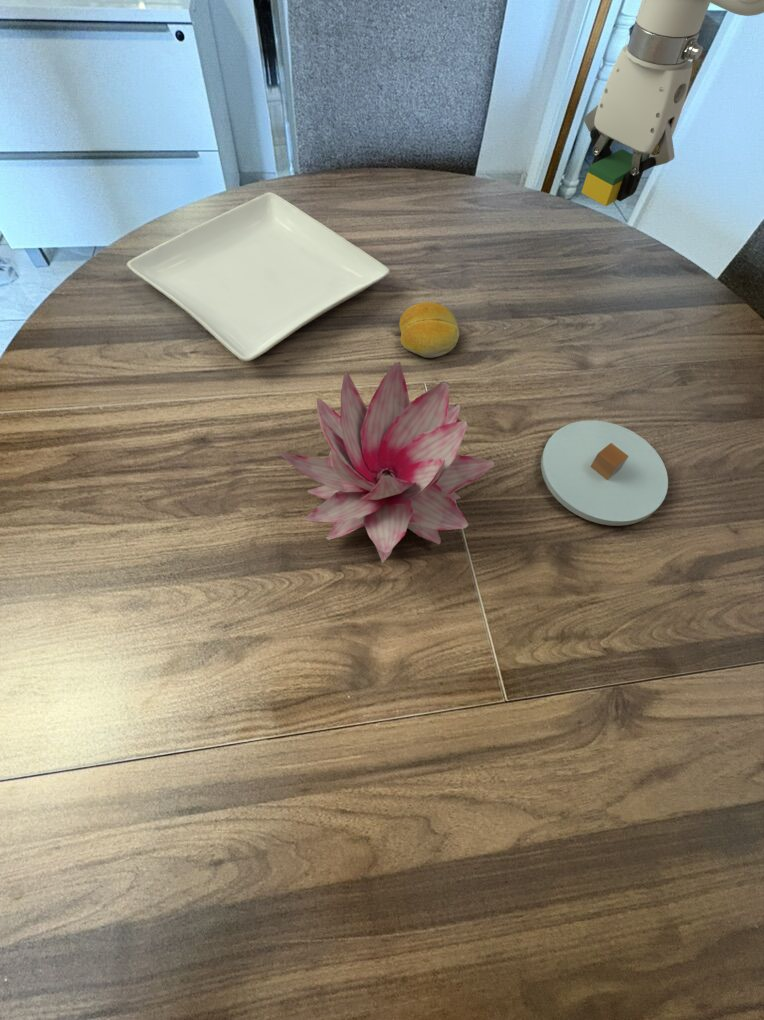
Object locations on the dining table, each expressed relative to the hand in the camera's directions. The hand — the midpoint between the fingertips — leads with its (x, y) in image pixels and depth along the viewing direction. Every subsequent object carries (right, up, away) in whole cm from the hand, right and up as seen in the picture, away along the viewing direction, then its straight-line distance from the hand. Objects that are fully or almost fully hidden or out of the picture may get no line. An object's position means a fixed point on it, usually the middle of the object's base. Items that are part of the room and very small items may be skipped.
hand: (609, 188), depth 90 cm
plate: (-7, -43, -15) cm, 46 cm away
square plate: (-51, -14, +1) cm, 53 cm away
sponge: (0, 0, 0) cm, 0 cm away
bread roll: (-27, -23, -3) cm, 36 cm away
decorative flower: (-33, -46, -19) cm, 60 cm away
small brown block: (-7, -42, -17) cm, 46 cm away
